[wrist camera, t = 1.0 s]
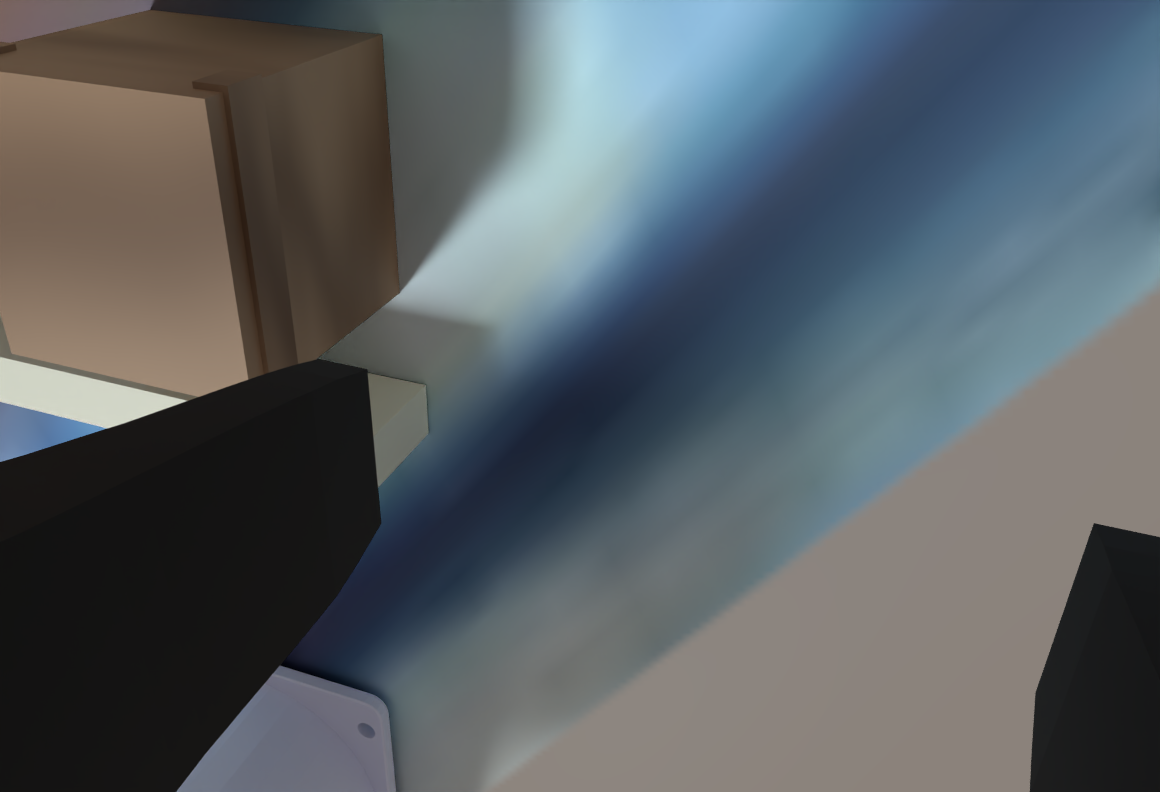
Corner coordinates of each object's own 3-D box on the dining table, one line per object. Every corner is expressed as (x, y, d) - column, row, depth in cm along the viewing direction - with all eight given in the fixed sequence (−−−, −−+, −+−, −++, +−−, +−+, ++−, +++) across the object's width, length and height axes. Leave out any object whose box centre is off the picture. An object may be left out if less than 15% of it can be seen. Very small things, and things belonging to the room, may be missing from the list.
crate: (406, 296, 21) (258, 415, 17) (191, 256, 22) (8, 358, 18) (389, 28, 18) (209, 93, 14) (146, 3, 20) (-79, 54, 16)
